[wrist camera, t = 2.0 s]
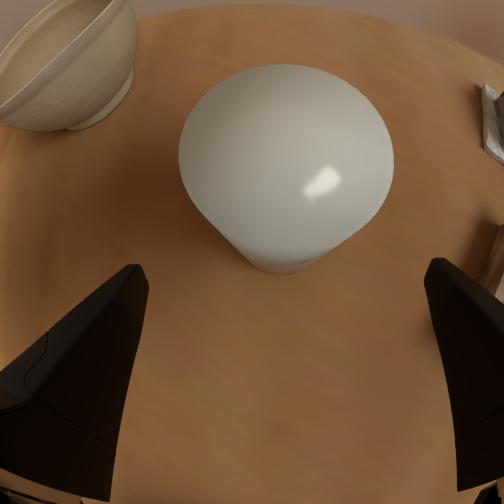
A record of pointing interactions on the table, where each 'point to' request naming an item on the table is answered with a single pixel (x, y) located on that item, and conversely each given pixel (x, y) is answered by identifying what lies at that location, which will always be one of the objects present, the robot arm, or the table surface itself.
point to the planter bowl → (68, 65)
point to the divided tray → (495, 268)
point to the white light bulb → (285, 163)
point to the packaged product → (493, 122)
